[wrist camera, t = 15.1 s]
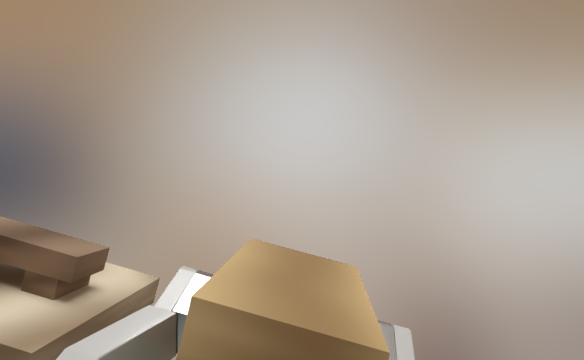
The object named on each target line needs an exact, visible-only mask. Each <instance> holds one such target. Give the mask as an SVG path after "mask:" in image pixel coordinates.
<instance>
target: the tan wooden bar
mask: <svg viewBox="0 0 584 360" xmlns="http://www.w3.org/2000/svg"><path fill="white" fill-rule="evenodd" d="M389 355H390V351H389V349H388V346H387V344H386V341H385V338H384V336H383V333H382V331H381V328H380V325H379V323H378V320H377V318H376V315H375V313H374V310H373V307H372V305H371V302H370V300H369V297H368V294H367V292H366V289H365V287H364V284H363V281H362V279H361V276H360V274H359V271H358V268H357V267H356V266H352V265H348V264H344V263H341V262H337V261H333V260H330V259H326V258H322V257H318V256H315V255H311V254H307V253H303V252H300V251H296V250H292V249H289V248H285V247H281V246H277V245H274V244H269V243H266V242H262V241H259V240H255V239H251V240H249V241H248V242H247V243H246V245H244V246H243V247H242V248H241V249H240V250H239V251H238V252H237V253H236V254H235V255H234V256H233V257H232V258H231V259H230V260H229V261H228V262H227V263H226V264H224V265H223V266H222V267H221V268H220V269H219V270H218V271H217V272H216V273H215V274H214V275H213V276H212V277H211V278H210V279H209V280H208V281H207V282H206V283H205V284H204V285H203V286H202V287H200V288H199V289H198V290H197V291H196V292H195V293H194V294H193V295H192V296H191V300H190V305H189V309H188V313H187V317H186V321H185V325H184V329H183V334H182V338H181V342H180V346H179V350H178V354H177V358H176V360H388V359H389Z"/></svg>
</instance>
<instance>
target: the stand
mask: <svg viewBox="0 0 584 360" xmlns="http://www.w3.org/2000/svg"><path fill="white" fill-rule="evenodd" d="M108 252H109V247H106V246H102V245H99V244H95V243H92V242H88V241H85V240H81V239H78V238H74V237H71V236H67V235H63V234H60V233H57V232H53V231H49V230H46V229H43V228H39V227H36V226H32V225H29V224H25V223H22V222H18V221H15V220H11V219H8V218H4V217H1V216H0V360H56V359H57V358H58V356H59V355H60V354H61V353H62V352H63V351H64V349H65V348H67V347H69V346H71V345H73V344H75V343H77V342H79V341H81V340H83V339H84V338H86V337H88V336H90V335H92V334H94V333H96V332H98V331H100V330H102V329H104V328H106V327H108V326H109V325H111V324H113V323H115V322H117V321H119V320H121V319H123V318H125V317H127V316H129V315H131V314H133V313H134V312H136V311H138V310H140V309H142V308H144V307H146V306H148V305H151V304H152V303H153V302H154V298H155V294H156V290H157V286H158V282H159V279H160V278H159V277H155V276H152V275H148V274H145V273H141V272H137V271H134V270H131V269H127V268H124V267H120V266H117V265H113V264H110V263H107V262H106V259H107V255H108Z"/></svg>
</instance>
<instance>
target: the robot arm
mask: <svg viewBox="0 0 584 360" xmlns="http://www.w3.org/2000/svg"><path fill="white" fill-rule="evenodd" d="M212 276H213V274H209V273H206V272H202V271H199V270H196V269H192V268H189V267H185V266H183V267H181V268H180V269H179V270H178V271H177V273H176V274H175V276H174V277H173V279H172V280H171V282H170V283H169V285H168V286H167V288H166V289H165V290H164V292H163V294H162V295H161V296H160V298H159V299H158V301H157V302H156V304H155V305H154V306H152V305H148V306H146V307H144V308H142V309H140V310H138V311H136V312H134V313H133V314H131V315H129V316H127V317H125V318H123V319H121V320H119V321H117V322H115V323H113V324H111V325H109V326H108V327H106V328H104V329H102V330H100V331H98V332H96V333H94V334H92V335H90V336H88V337H86V338H84V339H83V340H81V341H79V342H77V343H75V344H73V345H71V346H69V347H67V348H65V349H64V351H63V352H62V353H61V354H60V355H59V356H58V358H57V359H56V360H171V359H172V358H173V357H174V356H176V354H178V350H179V346H180V342H181V338H182V334H183V329H184V325H185V321H186V317H187V313H188V309H189V305H190V300H191V296H192V295H193V294H194V293H195V292H196V291H197V290H198V289H199V288H200V287H202V286H203V285H204V284H205V283H206V282H207V281H208V280H209V279H210V278H211V277H212ZM378 323H379V325H380V328H381V331H382V333H383V336H384V338H385V341H386V344H387V346H388V349H389V351H390V355H389V359H388V360H415V356H414V349H413V342H412V335H411V331H410V330H409V329H407V328H404V327H400V326H396V325H392V324H390V323H386V322H382V321H378Z"/></svg>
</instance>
